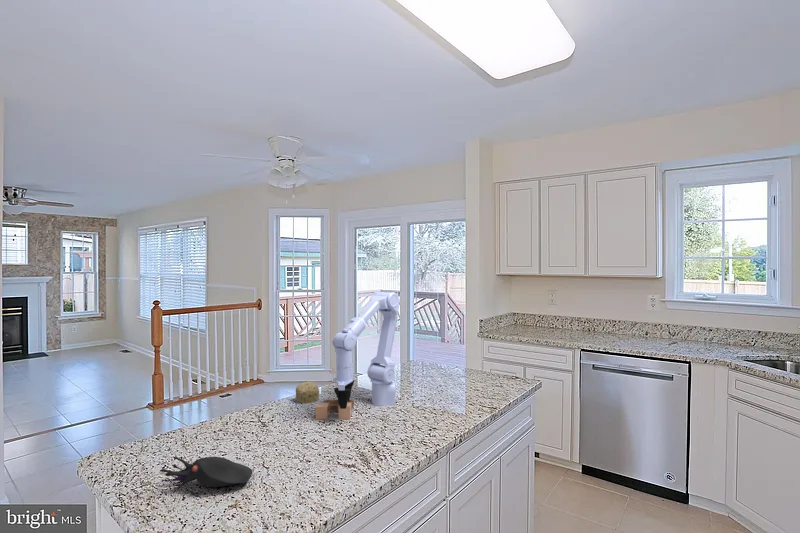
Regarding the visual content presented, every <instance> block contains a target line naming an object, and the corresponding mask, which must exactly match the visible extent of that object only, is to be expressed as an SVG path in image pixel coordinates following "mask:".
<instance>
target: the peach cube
mask: <svg viewBox="0 0 800 533" xmlns="http://www.w3.org/2000/svg"><path fill="white" fill-rule="evenodd" d="M352 411H353V409H351V403H347V407H346V409H340V406H339V412H338V414H339V419H350V420H351V418H352V416H353V414H352V413H353V412H352Z"/></svg>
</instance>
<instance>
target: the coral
mask: <svg viewBox="0 0 800 533" xmlns="http://www.w3.org/2000/svg"><path fill="white" fill-rule="evenodd" d="M319 397H320V389H319V387H318V384H317V383H316V382H313V381H311V380H310V381H305V382H301V383H300V384H298V385H296V387H295V401H296V402H297V403H300V404H310V403H311V404H312V403H315V402H317V401H318V400H319V399H320V398H319Z"/></svg>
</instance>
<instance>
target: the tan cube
mask: <svg viewBox="0 0 800 533" xmlns="http://www.w3.org/2000/svg"><path fill="white" fill-rule="evenodd" d="M329 414H330V412H329V403H324V402H317V404H316V406H315V420H316V419H328V417H329Z"/></svg>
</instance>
